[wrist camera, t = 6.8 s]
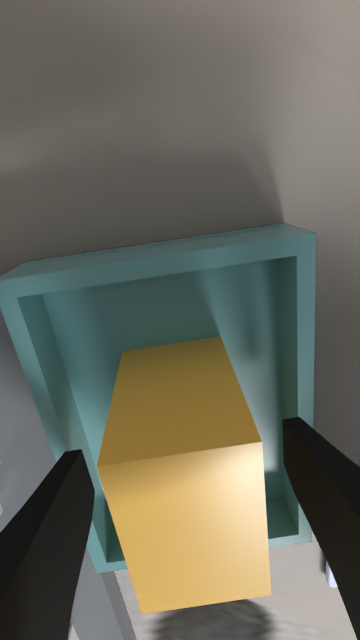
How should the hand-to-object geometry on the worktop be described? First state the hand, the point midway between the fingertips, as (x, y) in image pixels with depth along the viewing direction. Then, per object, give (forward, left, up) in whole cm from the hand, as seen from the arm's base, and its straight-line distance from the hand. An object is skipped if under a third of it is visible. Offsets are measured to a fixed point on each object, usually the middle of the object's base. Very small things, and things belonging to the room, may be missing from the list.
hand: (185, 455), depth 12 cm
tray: (0, 0, -4) cm, 4 cm away
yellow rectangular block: (0, 0, -3) cm, 3 cm away
